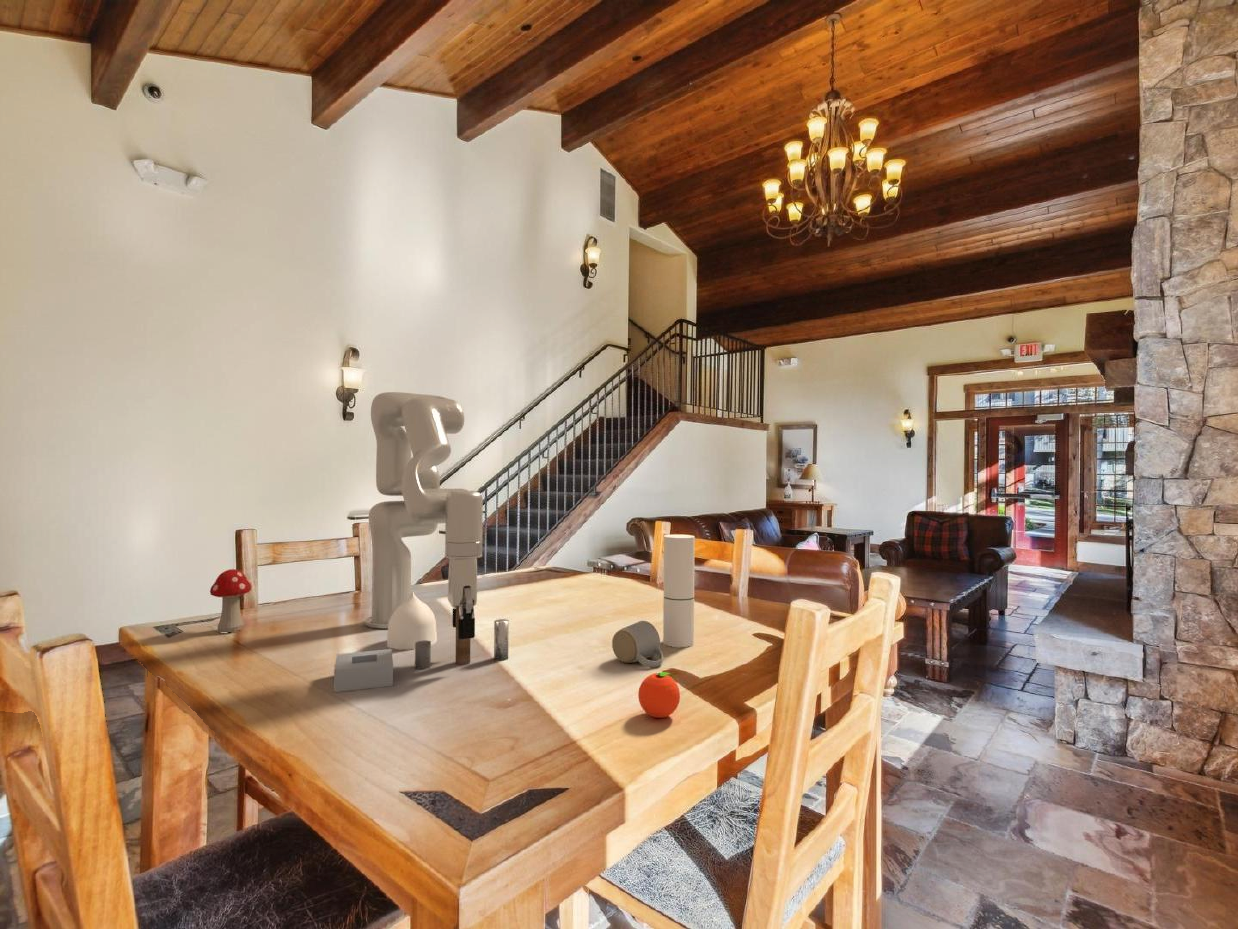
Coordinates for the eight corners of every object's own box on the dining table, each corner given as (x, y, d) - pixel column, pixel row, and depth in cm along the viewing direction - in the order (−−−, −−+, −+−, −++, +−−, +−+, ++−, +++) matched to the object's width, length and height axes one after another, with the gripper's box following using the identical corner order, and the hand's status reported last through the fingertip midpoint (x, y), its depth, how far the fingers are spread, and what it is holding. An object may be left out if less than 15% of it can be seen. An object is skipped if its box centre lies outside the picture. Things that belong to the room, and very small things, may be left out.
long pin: (454, 661, 129) (455, 594, 129) (469, 659, 130) (469, 593, 130) (456, 665, 126) (457, 597, 126) (471, 663, 127) (471, 596, 127)
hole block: (336, 674, 120) (337, 654, 120) (391, 668, 124) (391, 649, 124) (333, 692, 111) (334, 670, 111) (392, 685, 114) (393, 664, 114)
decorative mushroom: (217, 626, 155) (217, 567, 155) (255, 624, 157) (256, 565, 157) (203, 637, 145) (204, 573, 145) (244, 634, 148) (245, 572, 148)
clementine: (657, 703, 107) (658, 662, 107) (691, 713, 103) (691, 671, 103) (629, 717, 101) (629, 674, 101) (663, 728, 97) (664, 683, 97)
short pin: (414, 665, 126) (414, 641, 126) (429, 664, 127) (430, 639, 127) (415, 670, 123) (415, 645, 123) (431, 668, 124) (431, 643, 124)
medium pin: (492, 657, 132) (493, 620, 132) (506, 655, 133) (507, 618, 133) (495, 661, 129) (495, 623, 129) (509, 659, 130) (509, 622, 130)
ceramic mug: (608, 660, 130) (609, 624, 130) (633, 651, 136) (634, 617, 136) (647, 673, 123) (648, 634, 123) (672, 663, 129) (672, 627, 129)
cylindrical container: (693, 639, 147) (694, 534, 147) (694, 648, 140) (695, 538, 140) (663, 638, 147) (664, 534, 147) (662, 646, 140) (663, 537, 140)
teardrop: (376, 647, 138) (376, 594, 138) (404, 634, 149) (405, 585, 149) (420, 651, 136) (420, 597, 136) (445, 638, 146) (446, 587, 146)
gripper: (441, 545, 135) (440, 624, 135) (450, 556, 119) (449, 645, 119) (475, 544, 137) (475, 621, 137) (489, 554, 121) (488, 641, 121)
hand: (463, 632), depth 128 cm, fingers open, 9 cm apart
